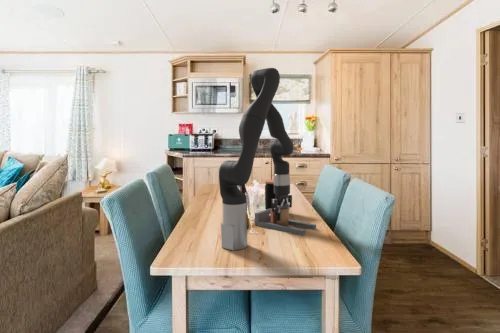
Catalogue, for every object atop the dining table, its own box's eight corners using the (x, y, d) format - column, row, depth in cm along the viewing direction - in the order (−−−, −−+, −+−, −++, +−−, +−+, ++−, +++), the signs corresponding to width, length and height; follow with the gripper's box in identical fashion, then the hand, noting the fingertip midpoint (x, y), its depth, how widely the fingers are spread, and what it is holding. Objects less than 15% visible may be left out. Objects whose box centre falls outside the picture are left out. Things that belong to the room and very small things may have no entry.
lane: (316, 228, 145) (316, 215, 144) (302, 235, 136) (302, 221, 135) (269, 220, 161) (269, 208, 161) (255, 225, 152) (254, 213, 152)
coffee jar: (285, 215, 170) (285, 182, 168) (265, 215, 170) (265, 182, 168) (283, 210, 180) (283, 179, 179) (265, 211, 180) (264, 179, 179)
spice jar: (284, 229, 145) (284, 207, 144) (273, 227, 149) (272, 206, 148) (291, 226, 150) (291, 205, 149) (280, 224, 154) (280, 203, 153)
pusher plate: (281, 223, 154) (281, 206, 153) (272, 226, 148) (272, 209, 148) (274, 221, 157) (273, 205, 156) (265, 224, 151) (265, 208, 150)
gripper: (283, 181, 155) (284, 214, 157) (266, 185, 144) (266, 220, 146) (297, 182, 151) (297, 216, 152) (279, 186, 140) (280, 223, 141)
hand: (282, 218), depth 149 cm, fingers open, 6 cm apart
